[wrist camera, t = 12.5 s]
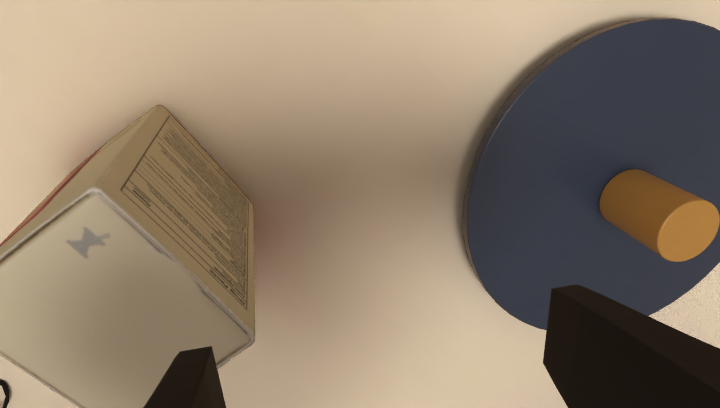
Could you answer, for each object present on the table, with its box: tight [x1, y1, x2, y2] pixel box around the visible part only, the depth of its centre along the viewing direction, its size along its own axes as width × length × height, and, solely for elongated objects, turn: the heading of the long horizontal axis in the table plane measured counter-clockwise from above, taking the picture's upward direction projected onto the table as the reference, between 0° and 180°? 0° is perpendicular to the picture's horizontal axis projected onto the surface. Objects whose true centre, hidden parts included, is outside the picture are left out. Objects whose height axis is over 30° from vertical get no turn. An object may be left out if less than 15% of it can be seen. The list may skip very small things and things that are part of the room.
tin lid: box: [463, 18, 720, 330], centre depth 19 cm, size 14×14×4 cm
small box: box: [0, 105, 255, 408], centre depth 14 cm, size 5×4×8 cm
